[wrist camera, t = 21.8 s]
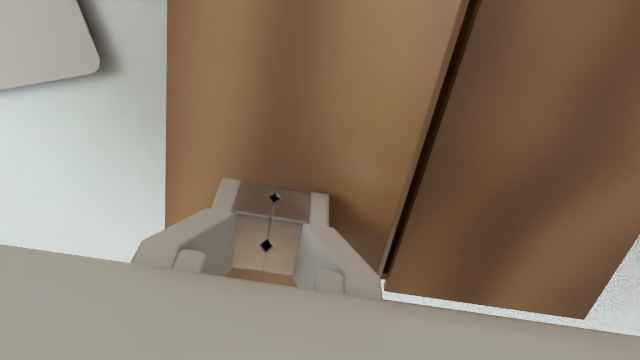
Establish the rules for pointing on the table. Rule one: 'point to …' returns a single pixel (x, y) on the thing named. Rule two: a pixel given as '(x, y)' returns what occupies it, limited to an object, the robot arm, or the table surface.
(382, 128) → the flap
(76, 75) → the grey board with tab
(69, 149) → the table surface
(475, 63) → the carton
